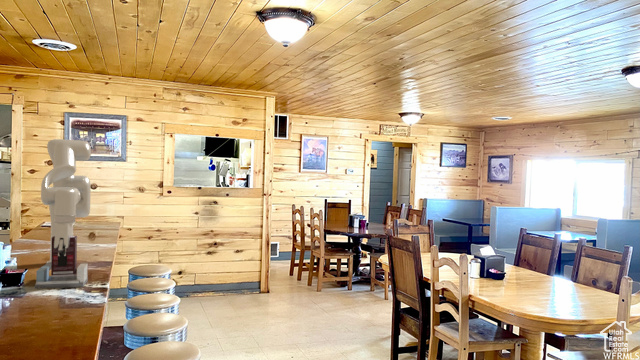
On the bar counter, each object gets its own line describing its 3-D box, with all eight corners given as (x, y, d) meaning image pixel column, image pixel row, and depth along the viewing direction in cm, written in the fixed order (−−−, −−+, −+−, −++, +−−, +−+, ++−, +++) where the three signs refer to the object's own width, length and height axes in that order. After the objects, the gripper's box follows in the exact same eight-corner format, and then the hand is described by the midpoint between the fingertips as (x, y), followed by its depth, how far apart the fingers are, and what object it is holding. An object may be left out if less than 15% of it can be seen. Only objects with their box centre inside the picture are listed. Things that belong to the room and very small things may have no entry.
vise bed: (41, 282, 194) (42, 263, 193) (87, 280, 199) (88, 262, 198) (34, 288, 184) (35, 269, 184) (83, 286, 189) (83, 268, 189)
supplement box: (76, 273, 195) (77, 235, 195) (74, 276, 190) (75, 237, 190) (53, 274, 192) (53, 235, 192) (50, 277, 188) (51, 237, 187)
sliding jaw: (47, 274, 201) (47, 262, 201) (53, 273, 202) (54, 262, 201) (36, 283, 185) (36, 270, 185) (43, 283, 186) (43, 270, 186)
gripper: (59, 217, 198) (58, 260, 198) (48, 222, 182) (48, 269, 182) (79, 217, 200) (78, 260, 200) (70, 222, 184) (69, 269, 184)
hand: (63, 264), depth 191 cm, fingers closed on supplement box, 4 cm apart
